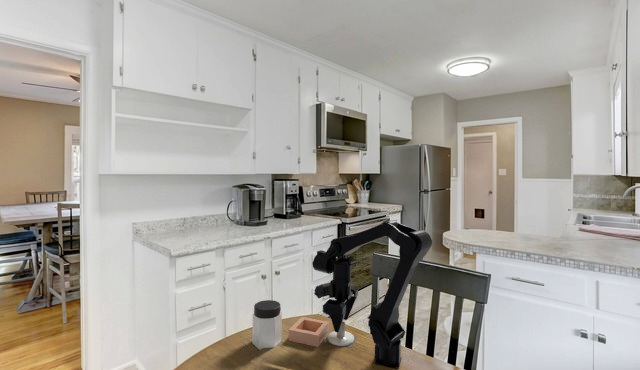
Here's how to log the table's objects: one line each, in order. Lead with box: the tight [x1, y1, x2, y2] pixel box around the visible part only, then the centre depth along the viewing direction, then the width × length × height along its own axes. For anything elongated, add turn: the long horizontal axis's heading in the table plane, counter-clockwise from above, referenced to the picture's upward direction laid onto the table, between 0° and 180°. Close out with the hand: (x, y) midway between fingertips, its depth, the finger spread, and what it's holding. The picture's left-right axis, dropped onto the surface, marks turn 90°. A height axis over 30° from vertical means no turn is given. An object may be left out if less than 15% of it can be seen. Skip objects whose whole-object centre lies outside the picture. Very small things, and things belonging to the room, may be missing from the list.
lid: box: [327, 321, 355, 347], centre depth 101 cm, size 8×8×5 cm
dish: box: [288, 316, 330, 348], centre depth 103 cm, size 10×10×4 cm
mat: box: [323, 335, 358, 348], centre depth 101 cm, size 9×7×1 cm
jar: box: [251, 299, 283, 351], centre depth 99 cm, size 9×8×12 cm
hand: (341, 325), depth 101 cm, fingers open, 9 cm apart
